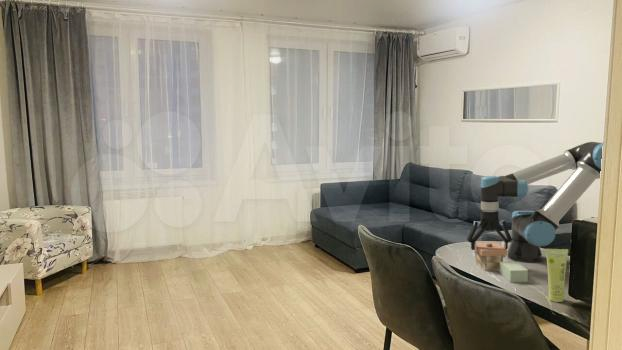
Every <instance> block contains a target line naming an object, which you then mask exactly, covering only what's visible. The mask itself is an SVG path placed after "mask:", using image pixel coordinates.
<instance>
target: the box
mask: <svg viewBox="0 0 622 350" xmlns="http://www.w3.org/2000/svg"><path fill="white" fill-rule="evenodd" d="M500 262H504V257H503V256H481V255H480V254H479V253H478V252H477V257H476V258H475V264H476V265H478V266H479V267H480V268H481V269H482V270H483V271H485V272H490V271H491V272H493V271H494V272H496V271H499V272H500Z"/></svg>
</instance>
